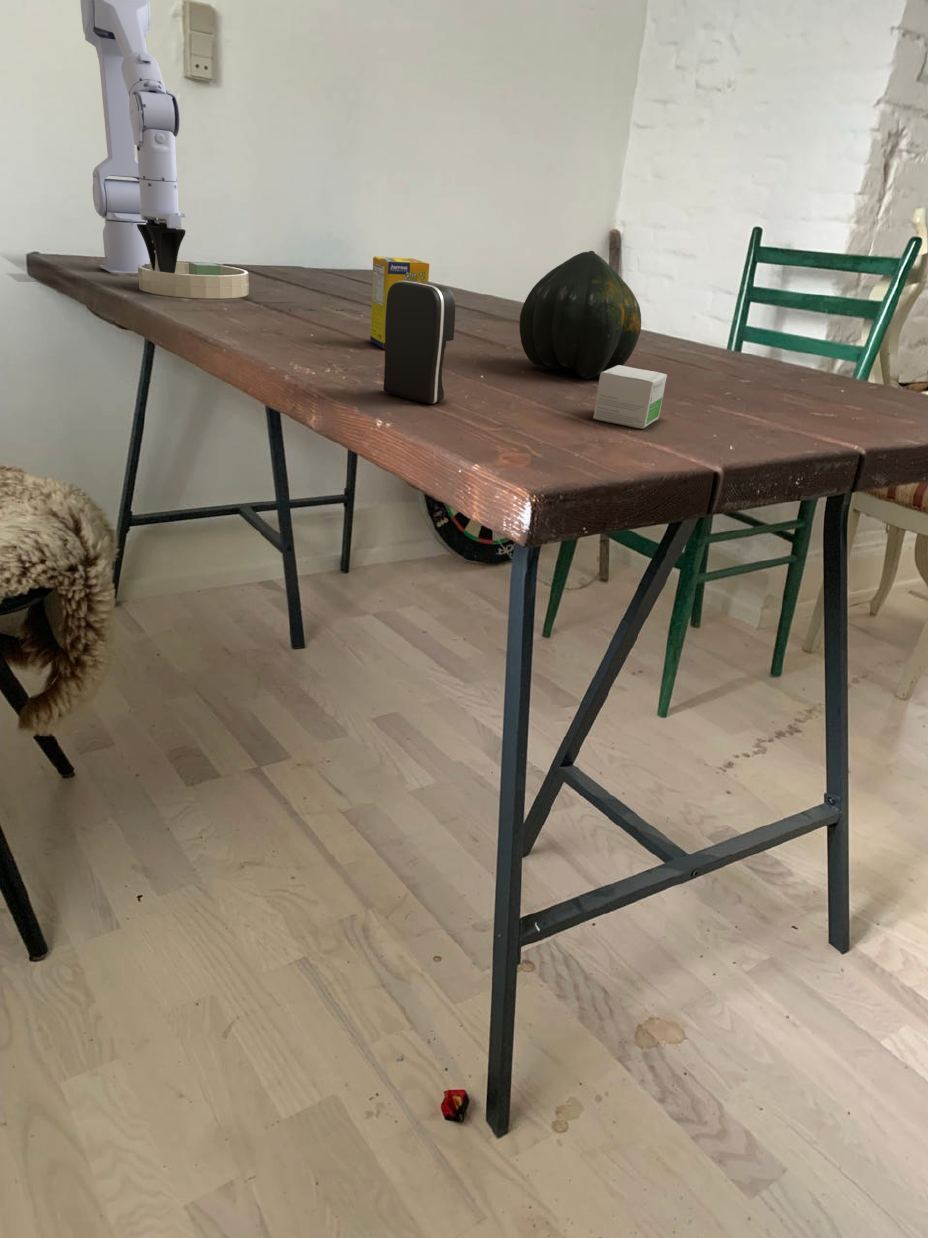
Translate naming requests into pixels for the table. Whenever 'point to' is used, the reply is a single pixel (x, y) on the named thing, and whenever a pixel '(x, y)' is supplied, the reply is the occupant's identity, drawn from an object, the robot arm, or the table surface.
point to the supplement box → (382, 280)
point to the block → (204, 268)
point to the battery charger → (417, 339)
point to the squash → (580, 318)
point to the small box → (629, 396)
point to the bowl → (194, 282)
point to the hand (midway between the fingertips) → (163, 272)
